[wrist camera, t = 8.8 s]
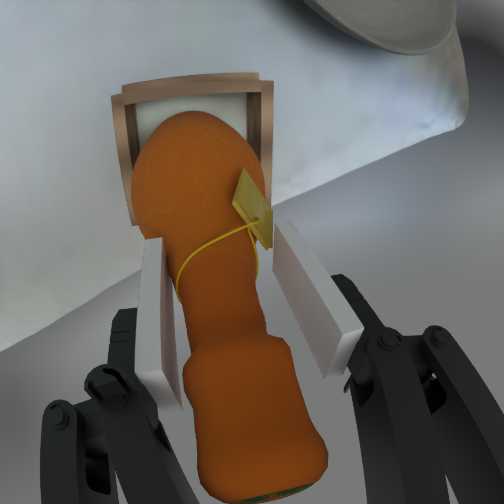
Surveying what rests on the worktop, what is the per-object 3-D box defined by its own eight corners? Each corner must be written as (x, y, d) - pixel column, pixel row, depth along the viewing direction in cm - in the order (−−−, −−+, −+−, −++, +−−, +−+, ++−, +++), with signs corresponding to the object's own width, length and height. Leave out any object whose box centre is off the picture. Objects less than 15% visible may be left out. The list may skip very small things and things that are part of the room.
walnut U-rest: (256, 192, 37) (271, 215, 32) (139, 207, 34) (133, 233, 29) (256, 73, 28) (274, 71, 23) (123, 85, 25) (109, 86, 20)
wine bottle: (231, 192, 32) (359, 474, 9) (147, 194, 30) (129, 515, 6) (239, 109, 27) (532, 332, 3) (146, 108, 24) (-67, 435, 1)
